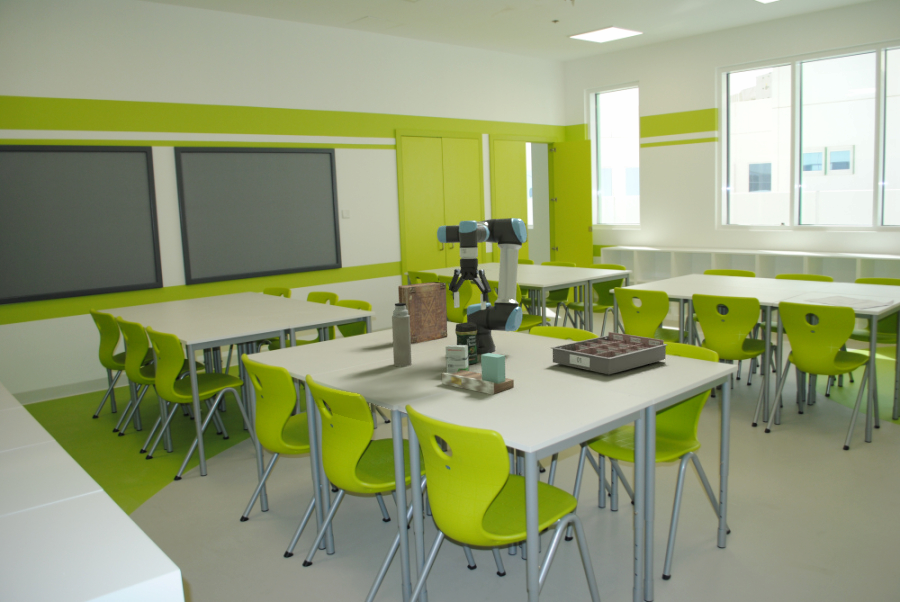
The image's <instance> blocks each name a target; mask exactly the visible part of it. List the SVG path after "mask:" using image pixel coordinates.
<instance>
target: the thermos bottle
mask: <svg viewBox="0 0 900 602" xmlns="http://www.w3.org/2000/svg"><path fill="white" fill-rule="evenodd" d="M405 305H406V303H399V302H396V303H394V306H395V307H394V310H393V312H392V316H391V325H392V326H391V327H392V348H393V349H392V350H393V351H392V353H393V366H394V365H395V367H400V366H401V367H409V366H411V365H412V344H411V337H410V315H408V310H406V306H405Z"/></svg>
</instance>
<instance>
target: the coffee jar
mask: <svg viewBox="0 0 900 602" xmlns="http://www.w3.org/2000/svg"><path fill="white" fill-rule="evenodd" d="M454 332H455V335H456V345H467V346H468V366H469V365H472V364H473V365H475V364H477V363H478V362H479V360H478V359H479V358H478V354H477V349H476V334H477V325H476V323H473V322H467V321H466V322H461V323H456V324H455V331H454Z"/></svg>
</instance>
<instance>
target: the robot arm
mask: <svg viewBox="0 0 900 602" xmlns="http://www.w3.org/2000/svg"><path fill="white" fill-rule="evenodd" d="M436 238H437V240H438V242H440V244H442V243H443V244H458V243H459V257H460V259H459V267H460V268H455V269H454V270H453V271H454V272H453V276H452V279H451V280H450V281H451V282H450V284H449V286H448V291H450V292H451V293H452V300H453V308H454V309H457V308H460V292H459V289H460V288H461V287H462V285H463V283H465V281H472V282H474V284H475V285H476V287H478V289H479V291H480V292H481V293H480V303H474V304H470V305H468V306H467V308H466V322H473V323H476V325H477V334H476V349H477V355H478V354H481V355H483V354H487V353H493V352H495V351H496V345H495V343H494V342H495V341H494V339H493V336H492V335H493V334H492V331H499V332H515V331H517V330H518V329H519V328H520V326H521V325H522V321H523V309H522V307H520V305H519V304H520V303H519V302H518V301H517V286H518V285H517V281H518V266H519V265H518V263H519V250H520V249H522V248H523V245H522V244H524V243H526V241H527V239H528V235H527V227H526V225H525V222H524V220H523V219H521V218H514V217H512V218H511V217H510V218H507V217H506V218H489V219H485V220H479V221H477V220H461V221H460V222H459V224H455V225H454V224H453V225H440V226H439V227H438V228H437V231H436ZM478 243H480V244H481V243H490V244H495V243H496V244H497V248H499V249H500V254H499V269H498V271H499V273H498V287H497V288H498V289H497V299H496V300H495V301H494V304H493V305H494V306H493V305H492V304H491V302H488V293H491V292H492V289H491V286H490V284H489V281H488V279H487V276H486V275H485V274H486V273H485V270H484V269H478V267H479V258H478V256H479V252H478V251H479V249H478V247H479V246H478ZM460 275H461V276H460Z"/></svg>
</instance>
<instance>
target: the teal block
mask: <svg viewBox="0 0 900 602" xmlns="http://www.w3.org/2000/svg"><path fill="white" fill-rule="evenodd" d="M480 357H481V358H480V359H481V360H480V362H481V363H480V364H481V365H480V366H481V374H482V380H484V381H489V382H494V383H497V384H498V383H502V382H505V378H506V355H505V354H504V355H503V354H498V353H493V352H490V353H482V354H481V355H480Z"/></svg>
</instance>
